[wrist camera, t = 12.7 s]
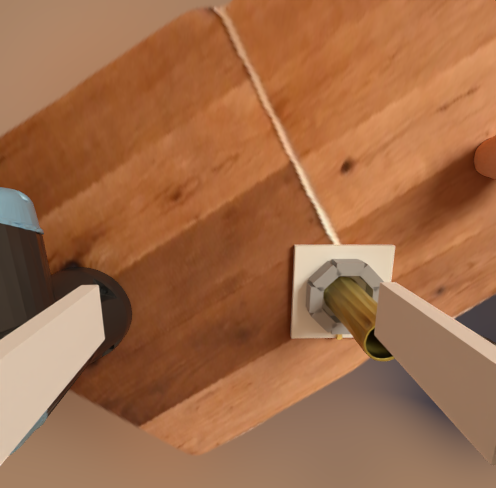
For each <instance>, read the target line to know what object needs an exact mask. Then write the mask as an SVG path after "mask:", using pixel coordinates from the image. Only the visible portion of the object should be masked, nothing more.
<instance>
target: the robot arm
mask: <svg viewBox="0 0 496 488" xmlns="http://www.w3.org/2000/svg"><path fill="white" fill-rule="evenodd" d="M43 234H44V232H43V230H42V229H41V228H40V226H39V223H38V219H37V216H36V212H35V209H34V205H33V203H32V201H31V200H30V198H29V197H28V196H27V195H25V194H24V193H22V192H20V191H17V190H14V189H9V188H2V187H0V465H1V464H2V463H3V462H4V461H5V459H6V458H7V457H8V456H9V455H11V454H12V453H14V452H15V451H16V450H17V449H18V448H20V447H21V446H22V445H23V443H24V442H25V441H26V440H27V439H28V438H29V437H30V436H31V434H32V433H33V432H34V431H35V430H36V429H38V428H39V427H40V426H41V425H42V424H43V423H44V422H45V420H46V419H47V417H48V416H49V415H50V413H51V412H52V411H53V409H54V408H55V407H56V406H57V404H58V403H59V402H60V400H61V399H62V398H63V397H64V395H65V394H66V393H67V391H68V390H69V389H70V387H71V386H72V385H73V384H74V382H75V381H76V380H77V378H78V377H79V376H80V375H81V373H82V372H83V371H84V369H85V368H86V367H87V366H88V365H89V364H90V363H92V362H94V361H96V360H98V359H99V358H101V357H103V356H105V355H106V354H108V353H110V352H111V351H112V350H113V349H115V348H116V347H117V346H118V345H119V343H120V342H121V341H122V339H123V338H124V337H125V335H126V334H127V332H128V330H129V327H130V324H131V319H132V310H131V304H130V301H129V299H128V296H127V294H126V293H125V291H124V290H123V288H122V287H121V286H120V285H119V284H118V283H117V282H116V281H115V280H114V279H113V278H111V277H110V276H108V275H106V274H105V273H103V272H100V271H98V270H95V269H91V268H84V267H74V268H68V269H64V270H61V271H59V272H57V273H55V274H53V275H51V274H50V269H49V265H48V260H47V255H46V250H45V246H44V241H43V236H42V235H43ZM374 335H375V336H376V338H377V339H378V340H379V341H380V342H381V343H382V344H383V345H384V346H385V348H386V349H387V350H388V351H389V352H390V353H391V354H392V355H393V357H394V358H395V359H396V360H397V361H398V362H399V363H400V364H401V365H402V367H403V368H404V369H405V370H406V371H407V372H408V373H409V374H410V375H411V377H412V378H413V379H414V380H415V381H416V382H417V383H418V384H419V386H420V387H421V388H422V389H423V390H424V391H425V392H426V393H427V394H428V396H429V397H430V398H431V399H432V400H433V401H434V402H435V403H436V404H437V405H438V407H439V408H440V409H441V410H442V411H443V412H444V413H445V415H446V416H447V417H448V418H449V419H450V420H451V421H452V422H453V423H454V425H455V426H456V427H457V428H458V429H459V430H460V431H461V432H462V433H463V435H464V436H465V437H466V438H467V439H468V440H469V441H470V442H471V444H473V446H474V447H475V448H476V449H477V450H478V451H479V452H480V454H481V455H482V456H483V457H484V458H485V459H486V460H487V461H488V462H489V464H490V465H496V343H495V342H493V341H491V340H490V339H488V338H486V337H483V336H481V335H478V334H476V333H475V332H473V331H472V330H470V329H469V328H467V327H465V326H464V325H462V324H461V323H459V322H458V321H456V320H454V319H453V318H451V317H450V316H448V315H447V314H445V313H443V312H442V311H440V310H439V309H437V308H436V307H434V306H432V305H431V304H429V303H428V302H426V301H425V300H423V299H421V298H420V297H418V296H417V295H415V294H414V293H412V292H410V291H409V290H407V289H406V288H404V287H402V286H401V285H399V284H398V283H396V282H380V287H379V296H378V305H377V314H376V322H375V331H374Z"/></svg>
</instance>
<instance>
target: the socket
mask: <svg viewBox="0 0 496 488" xmlns="http://www.w3.org/2000/svg"><path fill="white" fill-rule="evenodd" d="M394 253H395V245H392V244H375V245H294V263H293V287H292V311H291V338H292V339H293V338H336V339H337V340H342V338H352V337H353V336H352V335H351V333H350V332H349V331H348V330H347V328H346V327H345V326H344V325H343V324H342V323H341V321H340V320H339V319H338V318H337V317H336V315H335V314H334V313H333V312H332V311H331V309H330V308H329V307H328V306H327V305H326V304H325V301H324V298H323V294H324V290H325V289H326V288H327V287H328V286H329V285H330V284H331V283H332V282H333V281H334V280H335V279H337V278H338V277H349V278H352V279H353V280H355V281H356V282H357V283H358V285H359V286H360V287H361V288H362V289H363V290H364V291H365V292H366V293H367V294H368V295H369V296H370V297H371V298H373V299H374V300H375V301H376V302H377V303H378V296H379V287H380V282H391V278H392V270H393V262H394Z"/></svg>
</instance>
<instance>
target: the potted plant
mask: <svg viewBox="0 0 496 488" xmlns="http://www.w3.org/2000/svg"><path fill="white" fill-rule="evenodd" d="M474 165H475V169H476V170H477V172H479V173H480V174H482V175H484V176H487V177H490V178H492V179H495V180H496V136H494V137H492V138H489V139H487V140H486V141H484V142H483V143H482V144H481V145H479V146H478V148H477V149H476V152H475V156H474Z"/></svg>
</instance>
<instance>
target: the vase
mask: <svg viewBox="0 0 496 488" xmlns="http://www.w3.org/2000/svg"><path fill="white" fill-rule="evenodd" d="M323 298H324V301H325V304H326V305H327V306H328V307H329V308H330V309H331V311H332V312H333V313H334V314H335V315H336V317H337V318H338V319H339V320H340V321H341V323H342V324H343V325H344V326H345V327H346V328H347V330H348V331H349V332H350V333H351V335H352V336H353V337H354V339H355V340H356V341H357V343H358V344H359V345H360V346H361V348H362V349H363V351H364V352H365V353H366V354H367V355H368V356H369V357H371V358H372V359H374V360H377V361H389V360H392V359H395V358H394V357H393V355H392V354H391V353H390V352H389V351H388V350H387V349H386V348H385V346H384V345H383V344H382V343H381V342H380V341H379V340H378V339H377V338H376V336H375V335H374V331H375V322H376V314H377V305H378V303H377V302H376V301H375V300H374V299H373V298H371V297H370V296H369V295H368V294H367V293H366V292H365V291H364V290H363V289H362V288H361V287H360V286H359V285H358V283H357V282H356V281H355V280H353V279H352V278H349V277H338V278H337V279H335V280H334V281H333V282H332V283H331V284H330V285H329V286H328V287H327V288H326V289H325V290H324V294H323Z"/></svg>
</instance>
